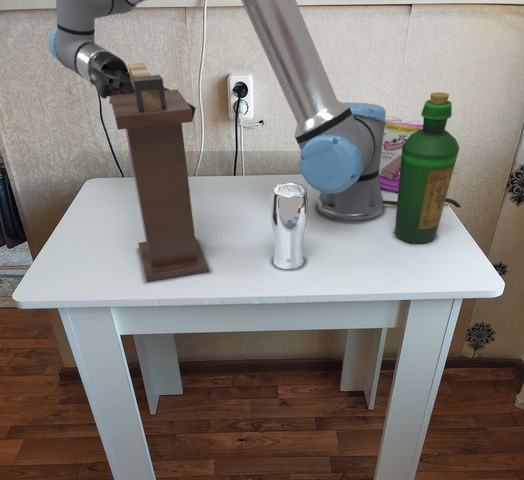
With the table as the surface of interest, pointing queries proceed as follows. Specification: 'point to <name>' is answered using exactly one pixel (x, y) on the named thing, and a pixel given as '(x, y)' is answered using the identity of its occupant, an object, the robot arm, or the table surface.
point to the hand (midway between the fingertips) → (168, 111)
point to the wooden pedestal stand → (161, 185)
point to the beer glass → (289, 223)
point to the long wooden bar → (147, 88)
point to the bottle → (426, 173)
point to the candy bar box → (394, 150)
